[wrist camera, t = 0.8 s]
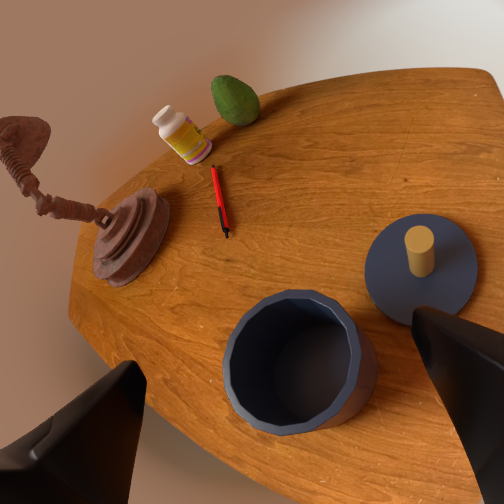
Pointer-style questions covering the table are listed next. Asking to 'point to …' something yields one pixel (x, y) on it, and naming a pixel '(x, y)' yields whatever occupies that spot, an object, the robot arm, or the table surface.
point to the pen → (220, 202)
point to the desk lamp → (89, 206)
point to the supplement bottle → (182, 135)
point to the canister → (298, 364)
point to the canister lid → (420, 267)
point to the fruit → (235, 100)
